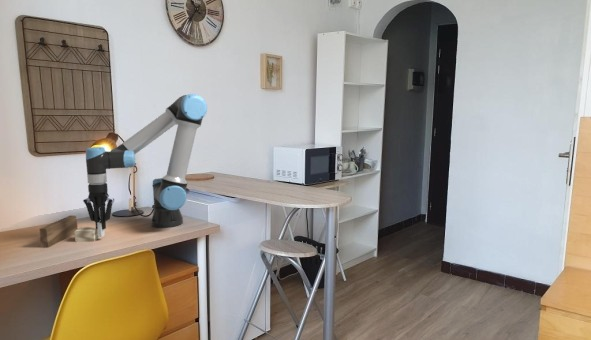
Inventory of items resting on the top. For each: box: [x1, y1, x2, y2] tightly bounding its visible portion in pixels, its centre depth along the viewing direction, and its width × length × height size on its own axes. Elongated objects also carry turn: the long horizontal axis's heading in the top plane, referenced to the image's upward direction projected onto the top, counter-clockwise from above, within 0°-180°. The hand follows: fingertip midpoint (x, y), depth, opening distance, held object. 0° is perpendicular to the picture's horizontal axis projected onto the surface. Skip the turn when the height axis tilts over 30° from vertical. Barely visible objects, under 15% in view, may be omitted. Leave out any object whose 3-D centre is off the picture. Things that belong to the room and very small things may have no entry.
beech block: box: [74, 226, 101, 243], centre depth 190 cm, size 8×6×5 cm
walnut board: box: [39, 215, 78, 248], centre depth 190 cm, size 3×22×8 cm, turn 177°
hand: (101, 236), depth 189 cm, fingers closed
